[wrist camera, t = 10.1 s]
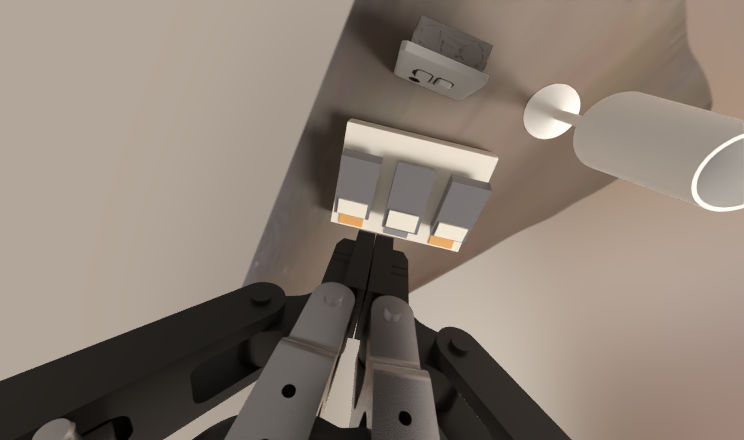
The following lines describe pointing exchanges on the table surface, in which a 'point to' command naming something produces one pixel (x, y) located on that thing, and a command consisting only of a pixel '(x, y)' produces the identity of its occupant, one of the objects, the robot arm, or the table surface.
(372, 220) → the switch panel
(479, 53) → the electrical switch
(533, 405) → the robot arm
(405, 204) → the rocker middle
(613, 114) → the champagne flute
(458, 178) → the block
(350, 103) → the table surface
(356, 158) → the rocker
